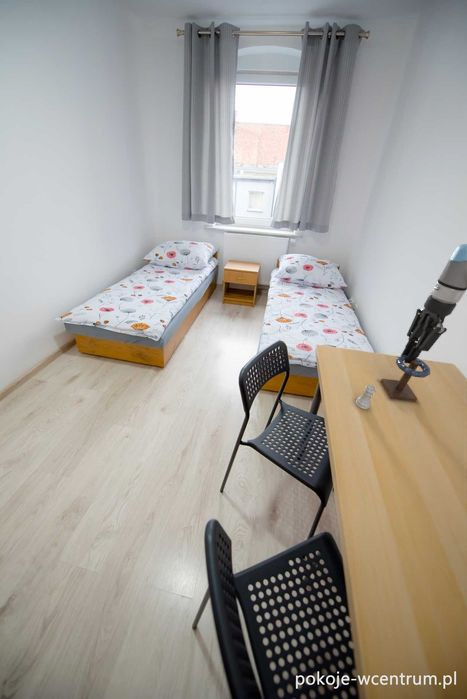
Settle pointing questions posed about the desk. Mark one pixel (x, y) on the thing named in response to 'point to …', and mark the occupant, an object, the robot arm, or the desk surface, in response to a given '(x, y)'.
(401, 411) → the desk surface
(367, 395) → the rook chess piece
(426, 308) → the robot arm
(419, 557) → the desk surface
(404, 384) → the stand
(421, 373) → the ring
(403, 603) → the desk surface
